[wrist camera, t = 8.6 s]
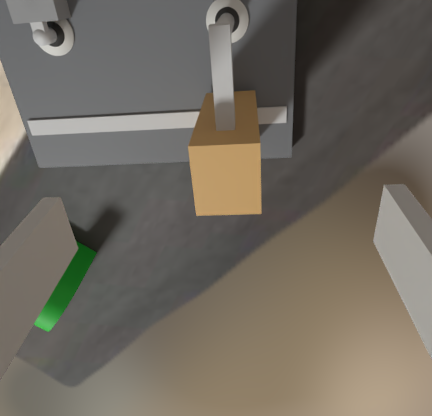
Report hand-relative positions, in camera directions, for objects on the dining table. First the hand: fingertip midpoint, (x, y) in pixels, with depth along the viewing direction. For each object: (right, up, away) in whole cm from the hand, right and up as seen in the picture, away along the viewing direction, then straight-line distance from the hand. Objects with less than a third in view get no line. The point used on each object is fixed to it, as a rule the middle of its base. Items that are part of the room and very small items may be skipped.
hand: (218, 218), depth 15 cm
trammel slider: (+1, +9, +11) cm, 14 cm away
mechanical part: (-18, -6, +25) cm, 31 cm away
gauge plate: (-5, +10, +13) cm, 17 cm away
